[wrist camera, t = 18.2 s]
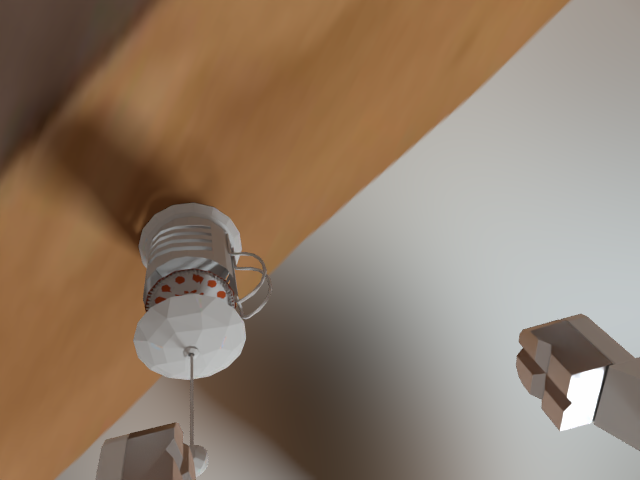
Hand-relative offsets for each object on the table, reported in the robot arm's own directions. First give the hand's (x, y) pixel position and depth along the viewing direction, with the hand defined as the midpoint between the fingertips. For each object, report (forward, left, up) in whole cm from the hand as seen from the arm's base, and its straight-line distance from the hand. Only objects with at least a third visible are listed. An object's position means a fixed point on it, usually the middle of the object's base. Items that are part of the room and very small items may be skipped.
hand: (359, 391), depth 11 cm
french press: (-7, -15, -35) cm, 39 cm away
